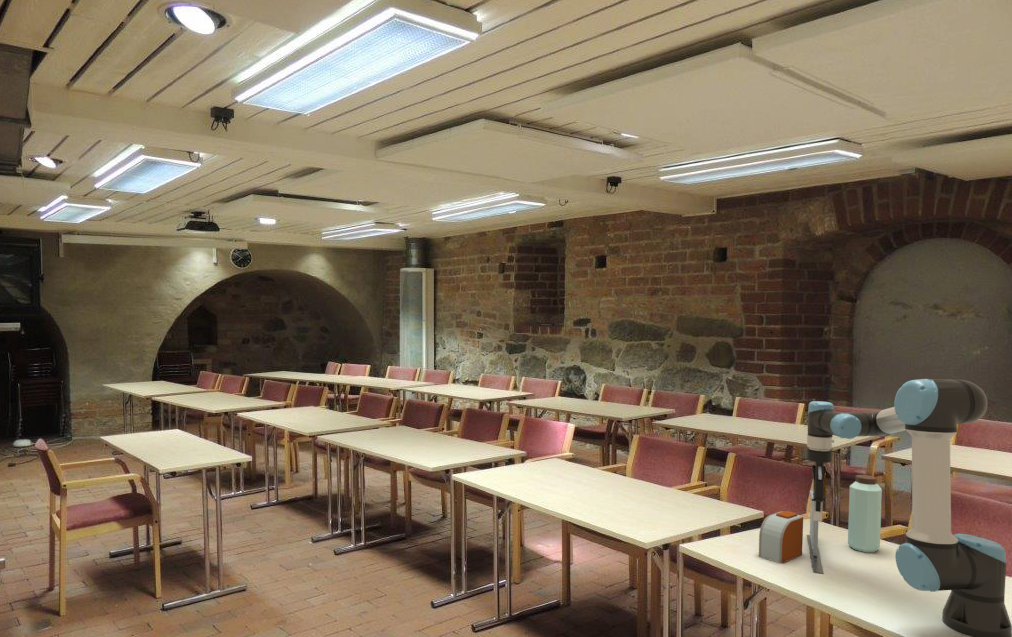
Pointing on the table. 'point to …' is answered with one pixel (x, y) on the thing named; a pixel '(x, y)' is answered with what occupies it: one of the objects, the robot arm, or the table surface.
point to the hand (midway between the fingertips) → (817, 520)
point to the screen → (813, 529)
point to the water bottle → (864, 514)
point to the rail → (815, 559)
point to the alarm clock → (781, 536)
